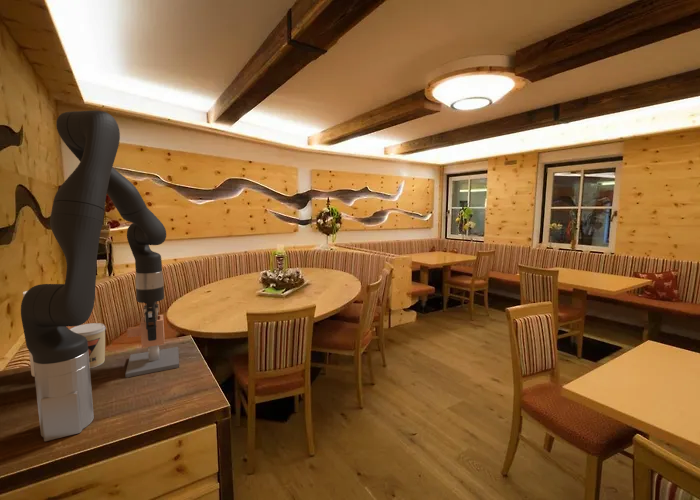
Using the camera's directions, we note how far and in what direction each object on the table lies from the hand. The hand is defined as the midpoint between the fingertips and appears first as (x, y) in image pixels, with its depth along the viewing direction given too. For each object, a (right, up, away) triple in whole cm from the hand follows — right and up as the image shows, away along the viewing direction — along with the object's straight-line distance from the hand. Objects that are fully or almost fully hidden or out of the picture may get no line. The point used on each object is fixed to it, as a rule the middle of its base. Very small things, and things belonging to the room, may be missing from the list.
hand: (152, 336), depth 103 cm
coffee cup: (-20, -9, -1) cm, 22 cm away
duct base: (0, -9, +1) cm, 9 cm away
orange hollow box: (-2, -2, -1) cm, 3 cm away
